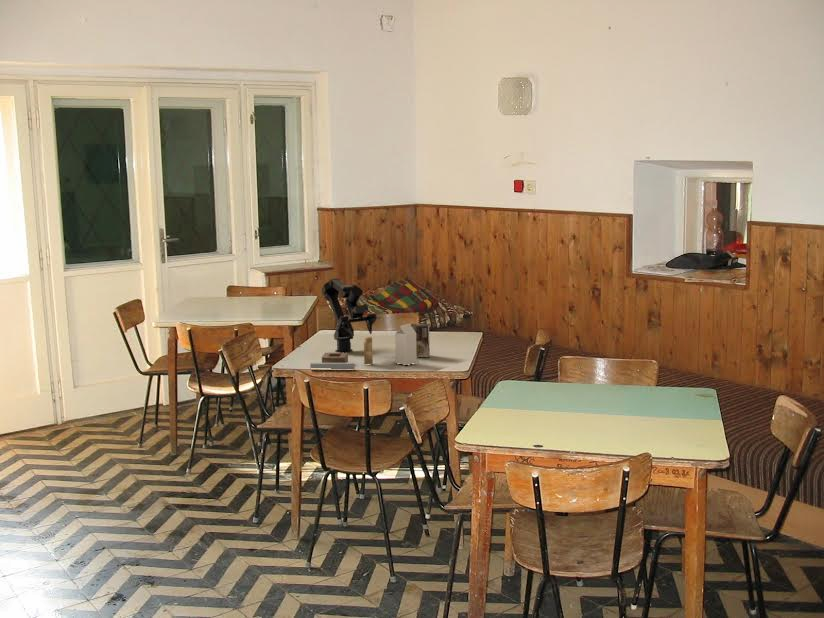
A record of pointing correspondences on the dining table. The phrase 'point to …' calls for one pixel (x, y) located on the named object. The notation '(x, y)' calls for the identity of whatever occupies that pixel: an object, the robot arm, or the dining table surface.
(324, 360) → the socket block
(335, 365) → the stop rail
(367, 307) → the robot arm
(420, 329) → the coffee box
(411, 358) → the milk carton
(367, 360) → the dowel
